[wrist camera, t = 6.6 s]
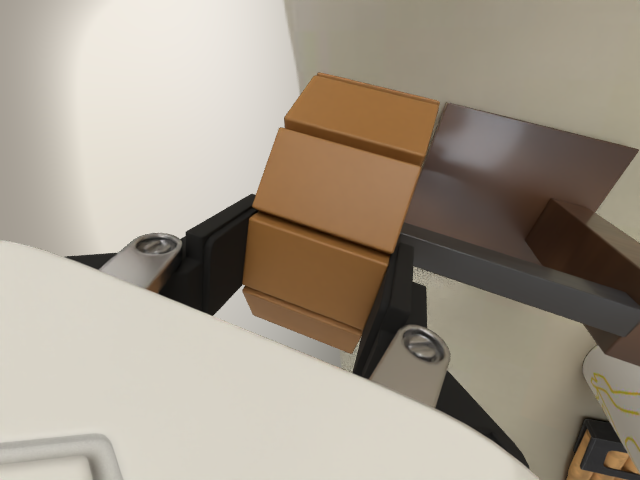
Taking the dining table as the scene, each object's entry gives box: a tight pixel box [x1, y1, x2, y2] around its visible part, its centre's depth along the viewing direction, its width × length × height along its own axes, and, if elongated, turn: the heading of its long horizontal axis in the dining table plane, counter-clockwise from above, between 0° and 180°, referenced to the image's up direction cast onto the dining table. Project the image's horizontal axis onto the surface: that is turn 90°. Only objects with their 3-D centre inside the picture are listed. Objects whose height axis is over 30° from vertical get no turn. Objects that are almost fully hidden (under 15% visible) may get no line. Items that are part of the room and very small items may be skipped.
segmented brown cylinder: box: [242, 72, 440, 354], centre depth 16 cm, size 12×5×12 cm, turn 168°
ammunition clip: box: [567, 419, 640, 480], centre depth 29 cm, size 11×2×12 cm
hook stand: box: [396, 102, 640, 367], centre depth 18 cm, size 12×13×13 cm
